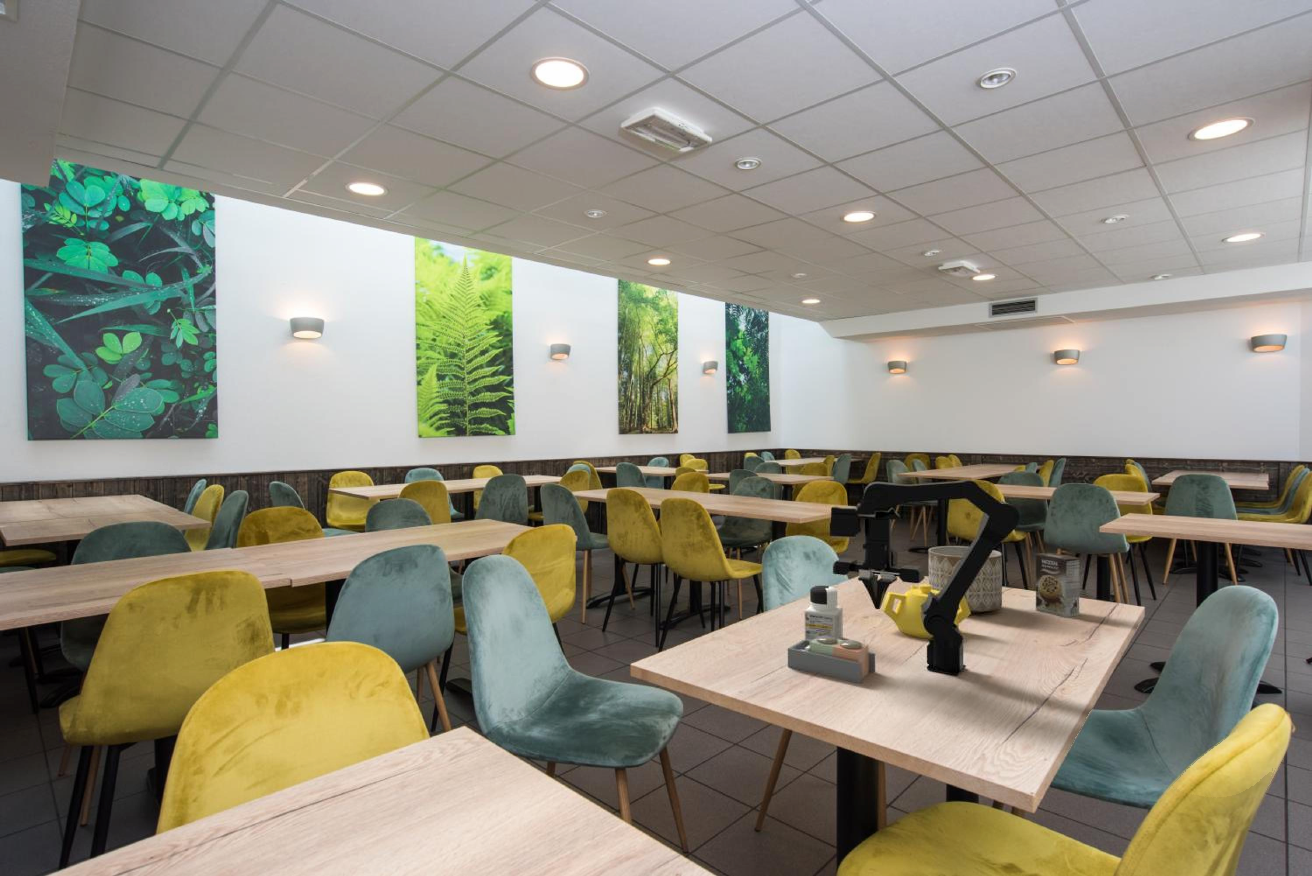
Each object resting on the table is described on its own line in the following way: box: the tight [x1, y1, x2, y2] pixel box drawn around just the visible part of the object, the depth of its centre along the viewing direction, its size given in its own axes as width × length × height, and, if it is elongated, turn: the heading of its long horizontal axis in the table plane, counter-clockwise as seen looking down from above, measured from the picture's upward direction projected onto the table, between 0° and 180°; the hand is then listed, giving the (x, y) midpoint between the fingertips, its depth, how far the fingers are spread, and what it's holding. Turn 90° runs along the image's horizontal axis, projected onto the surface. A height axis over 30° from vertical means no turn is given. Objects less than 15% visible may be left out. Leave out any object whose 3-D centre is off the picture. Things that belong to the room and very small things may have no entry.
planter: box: [928, 545, 1003, 614], centre depth 196 cm, size 19×19×16 cm
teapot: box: [881, 583, 972, 639], centre depth 173 cm, size 17×17×12 cm
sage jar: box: [810, 635, 843, 657], centre depth 147 cm, size 6×6×7 cm
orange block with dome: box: [833, 639, 869, 679], centre depth 143 cm, size 6×6×7 cm
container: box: [804, 585, 844, 641], centre depth 167 cm, size 8×8×13 cm
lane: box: [787, 638, 876, 684], centre depth 146 cm, size 16×8×4 cm, turn 52°
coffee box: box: [1035, 552, 1081, 618], centre depth 190 cm, size 9×6×16 cm
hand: (877, 608), depth 150 cm, fingers closed
